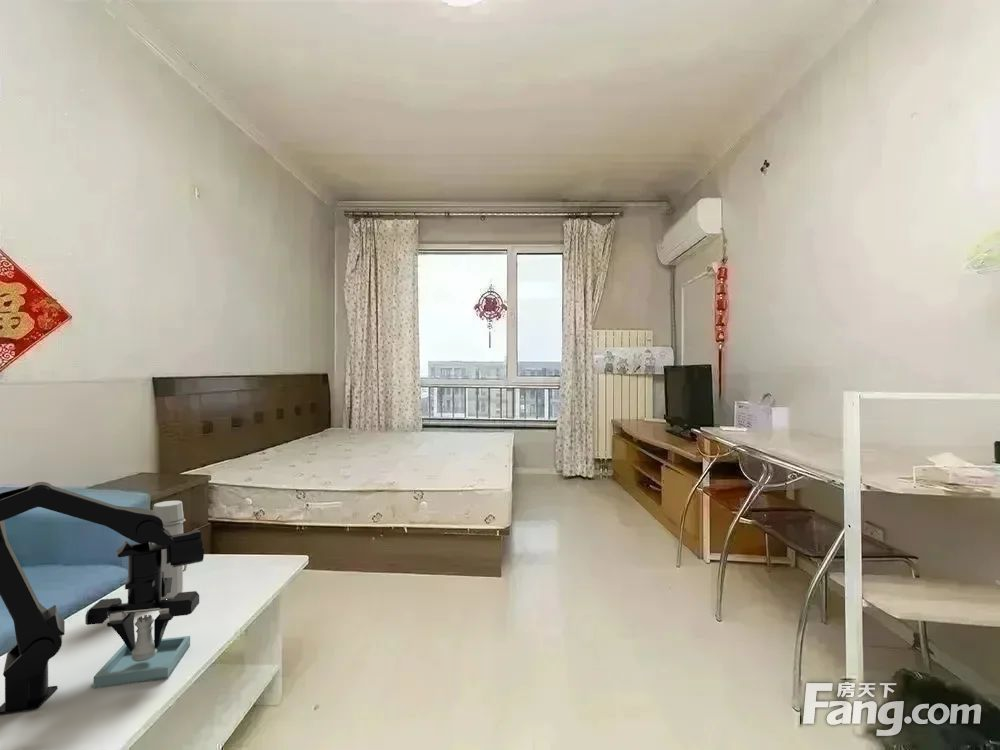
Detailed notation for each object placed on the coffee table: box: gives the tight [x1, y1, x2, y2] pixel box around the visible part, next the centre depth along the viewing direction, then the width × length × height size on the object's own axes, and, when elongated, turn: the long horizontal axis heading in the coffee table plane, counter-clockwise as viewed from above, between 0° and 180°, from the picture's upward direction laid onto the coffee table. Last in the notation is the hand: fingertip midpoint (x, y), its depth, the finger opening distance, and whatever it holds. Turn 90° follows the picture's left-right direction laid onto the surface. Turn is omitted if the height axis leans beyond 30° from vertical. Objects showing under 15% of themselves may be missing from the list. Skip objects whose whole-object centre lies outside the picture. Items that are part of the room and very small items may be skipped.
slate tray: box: [93, 635, 191, 689], centre depth 105 cm, size 13×13×2 cm
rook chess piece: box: [131, 614, 157, 662], centre depth 105 cm, size 4×4×8 cm
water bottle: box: [151, 500, 188, 600], centre depth 139 cm, size 9×8×25 cm
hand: (144, 648), depth 105 cm, fingers closed on rook chess piece, 4 cm apart
